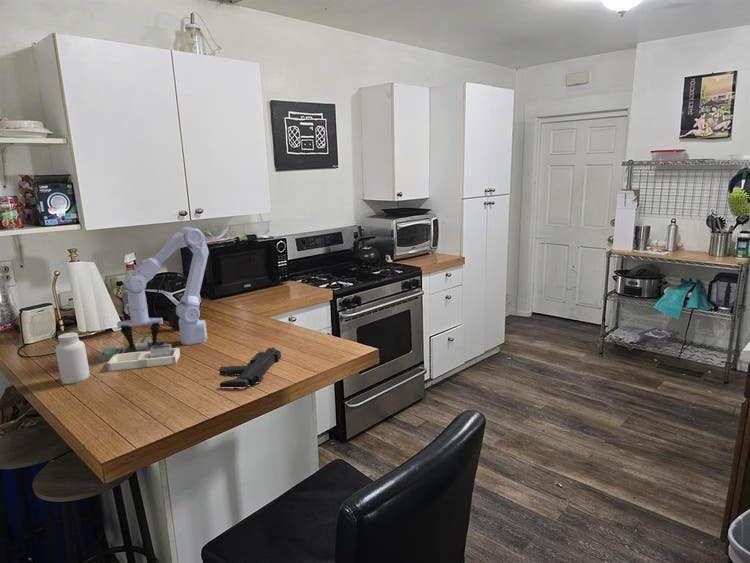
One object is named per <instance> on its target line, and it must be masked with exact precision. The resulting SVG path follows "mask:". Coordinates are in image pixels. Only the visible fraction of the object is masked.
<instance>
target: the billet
mask: <svg viewBox="0 0 750 563" xmlns="http://www.w3.org/2000/svg"><path fill="white" fill-rule="evenodd" d="M152 342H153V340H152V336H147V337H146V336H145V337H138V339H137V340H136V341H135V343H134V344H135V347H136V349H135V352H142V351H150V349H151V347H152Z"/></svg>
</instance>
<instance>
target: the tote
mask: <svg viewBox="0 0 750 563" xmlns="http://www.w3.org/2000/svg"><path fill="white" fill-rule="evenodd" d="M165 344H169V341H168V340H162V341H159V340H158V341H157V343H156V345H165ZM152 346H155V345H153V341H152ZM130 350H136V347H135V343H134V345H133V347H130V345H129V344H127V345H126V346H125V347H124V348H123V349H122V352H121V354H123V353H130Z"/></svg>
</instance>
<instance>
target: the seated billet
mask: <svg viewBox="0 0 750 563" xmlns="http://www.w3.org/2000/svg"><path fill="white" fill-rule="evenodd" d="M172 348H173V347H172V343H168V344H165V345H155V346H152V347H151V349H150V353H151V358H158V357H168V356H173V353H172Z"/></svg>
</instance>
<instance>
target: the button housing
mask: <svg viewBox="0 0 750 563" xmlns="http://www.w3.org/2000/svg"><path fill="white" fill-rule="evenodd" d="M122 351H123V348H122V347H121V348H119V347H118V348H117V353H116V354H121V352H122ZM113 355H114V354H107V355H104V349H103V351H102V352H101V353H100V354H99V355H98V361H99V364H103V363H104V362H109V360H110V359H111V358H112V357H113Z"/></svg>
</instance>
